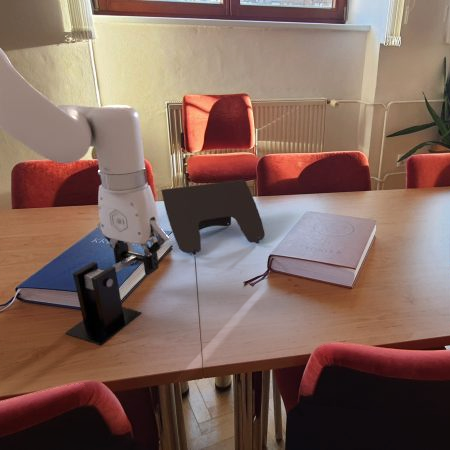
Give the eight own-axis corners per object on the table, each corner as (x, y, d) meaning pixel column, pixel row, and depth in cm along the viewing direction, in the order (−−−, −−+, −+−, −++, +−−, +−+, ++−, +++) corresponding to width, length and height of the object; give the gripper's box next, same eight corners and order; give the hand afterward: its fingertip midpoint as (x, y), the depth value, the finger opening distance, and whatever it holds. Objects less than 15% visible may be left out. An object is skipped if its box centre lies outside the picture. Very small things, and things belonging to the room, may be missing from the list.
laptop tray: (178, 276, 107) (178, 253, 101) (161, 207, 120) (160, 183, 114) (267, 259, 116) (272, 237, 109) (242, 197, 129) (246, 173, 122)
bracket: (108, 307, 85) (98, 253, 80) (142, 317, 82) (133, 261, 78) (66, 338, 77) (51, 279, 72) (102, 350, 74) (89, 289, 69)
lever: (127, 258, 86) (126, 247, 85) (152, 264, 84) (151, 252, 83) (77, 285, 76) (75, 273, 75) (104, 293, 74) (102, 280, 73)
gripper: (69, 178, 77) (87, 268, 85) (150, 191, 72) (162, 287, 79) (102, 167, 84) (116, 251, 91) (178, 178, 78) (187, 268, 85)
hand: (137, 267), depth 85 cm, fingers closed on lever, 6 cm apart
